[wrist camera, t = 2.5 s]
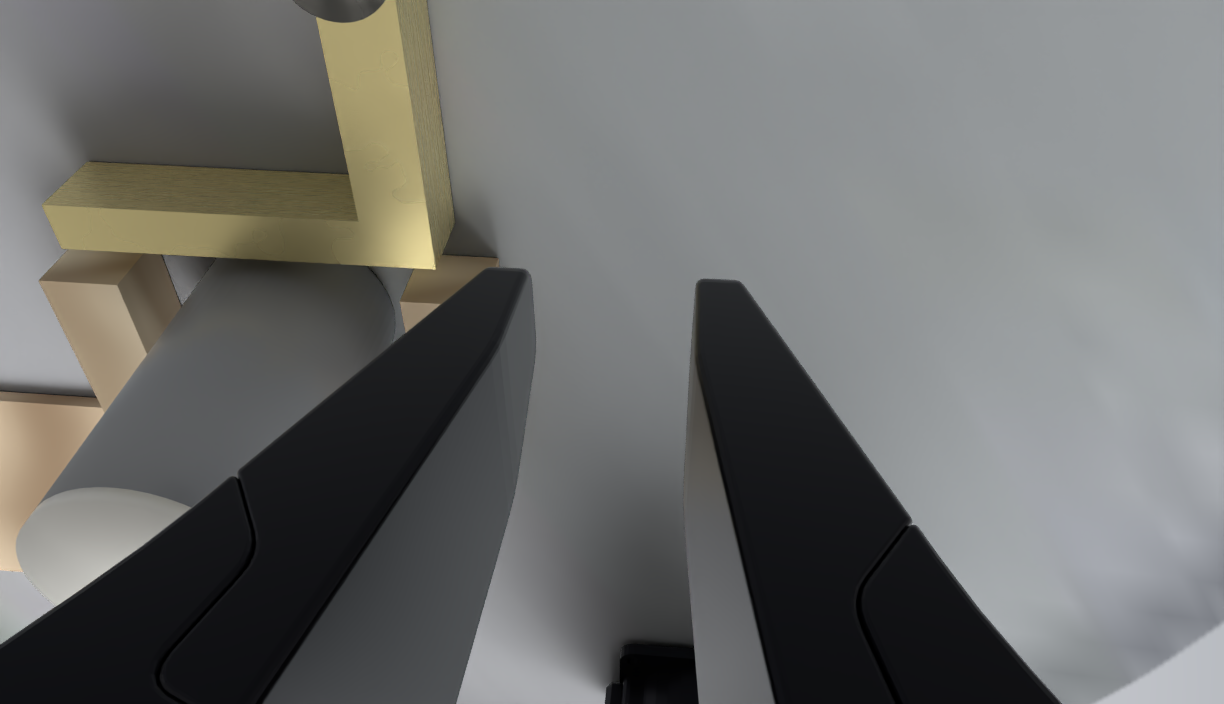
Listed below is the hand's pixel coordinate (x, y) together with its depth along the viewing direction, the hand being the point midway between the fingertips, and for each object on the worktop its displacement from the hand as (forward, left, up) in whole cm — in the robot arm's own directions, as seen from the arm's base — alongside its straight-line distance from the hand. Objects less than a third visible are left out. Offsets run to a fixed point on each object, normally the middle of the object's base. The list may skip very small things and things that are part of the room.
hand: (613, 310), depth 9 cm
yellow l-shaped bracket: (+9, +3, -12) cm, 15 cm away
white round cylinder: (+9, +10, -12) cm, 18 cm away
